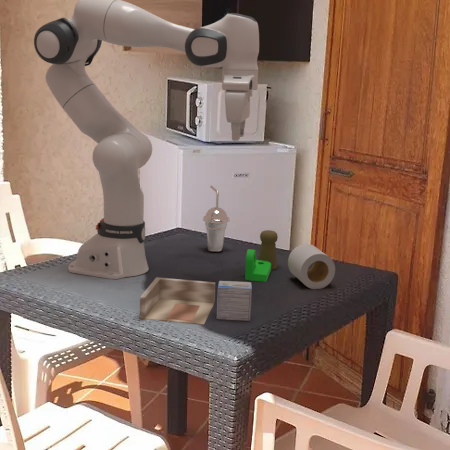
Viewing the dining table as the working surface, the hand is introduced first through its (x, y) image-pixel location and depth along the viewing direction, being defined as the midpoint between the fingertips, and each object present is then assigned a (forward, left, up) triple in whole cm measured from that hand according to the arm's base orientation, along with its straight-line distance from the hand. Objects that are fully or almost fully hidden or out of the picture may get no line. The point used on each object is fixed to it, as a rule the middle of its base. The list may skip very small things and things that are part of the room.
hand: (238, 138), depth 168 cm
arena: (-10, -20, -40) cm, 46 cm away
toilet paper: (+20, +11, -41) cm, 47 cm away
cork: (+7, +23, -40) cm, 47 cm away
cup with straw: (-11, +38, -40) cm, 56 cm away
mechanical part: (+6, +15, -40) cm, 43 cm away
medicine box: (+3, -20, -41) cm, 45 cm away
